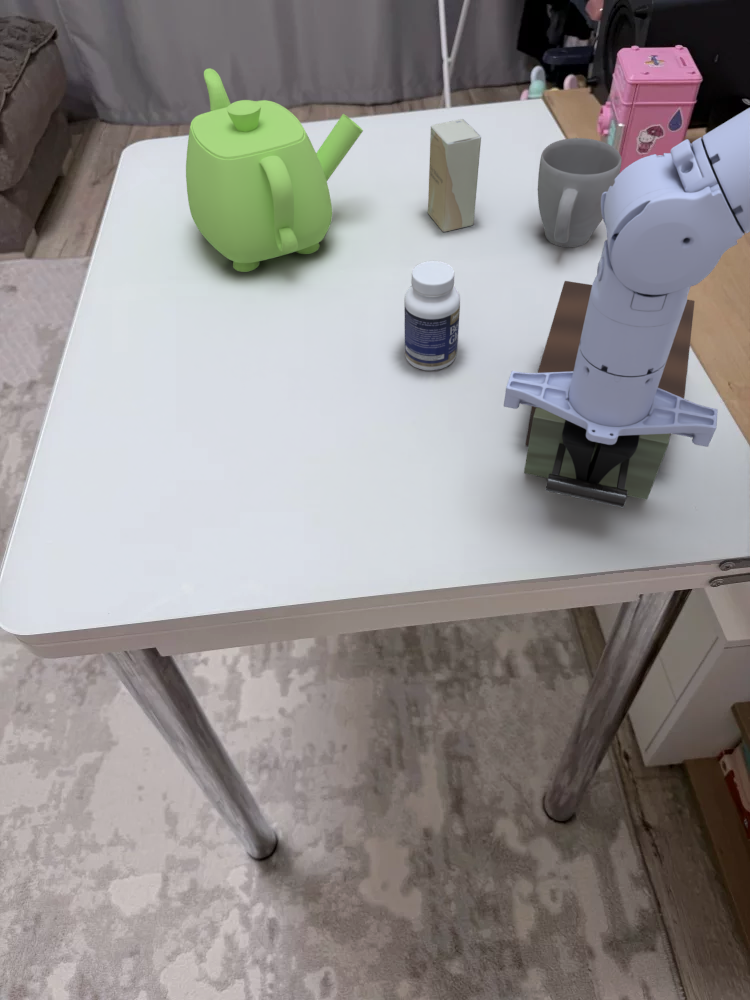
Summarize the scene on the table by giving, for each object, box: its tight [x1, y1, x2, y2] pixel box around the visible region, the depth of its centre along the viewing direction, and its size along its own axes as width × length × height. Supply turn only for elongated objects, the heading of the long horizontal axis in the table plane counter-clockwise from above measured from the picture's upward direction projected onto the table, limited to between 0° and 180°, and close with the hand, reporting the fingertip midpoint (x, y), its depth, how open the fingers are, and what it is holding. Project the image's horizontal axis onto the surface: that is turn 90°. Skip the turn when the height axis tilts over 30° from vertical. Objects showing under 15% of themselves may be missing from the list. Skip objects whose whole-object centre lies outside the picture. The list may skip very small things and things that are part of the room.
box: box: [427, 118, 482, 233], centre depth 88 cm, size 5×4×11 cm
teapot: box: [185, 67, 364, 273], centre depth 87 cm, size 25×22×16 cm
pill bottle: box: [403, 260, 461, 371], centre depth 72 cm, size 5×5×10 cm
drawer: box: [523, 408, 671, 509], centre depth 63 cm, size 17×10×7 cm, turn 161°
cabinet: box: [524, 280, 695, 447], centre depth 67 cm, size 14×12×9 cm
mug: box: [537, 137, 623, 248], centre depth 85 cm, size 12×9×10 cm
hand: (586, 482), depth 60 cm, fingers closed, pressing on drawer
